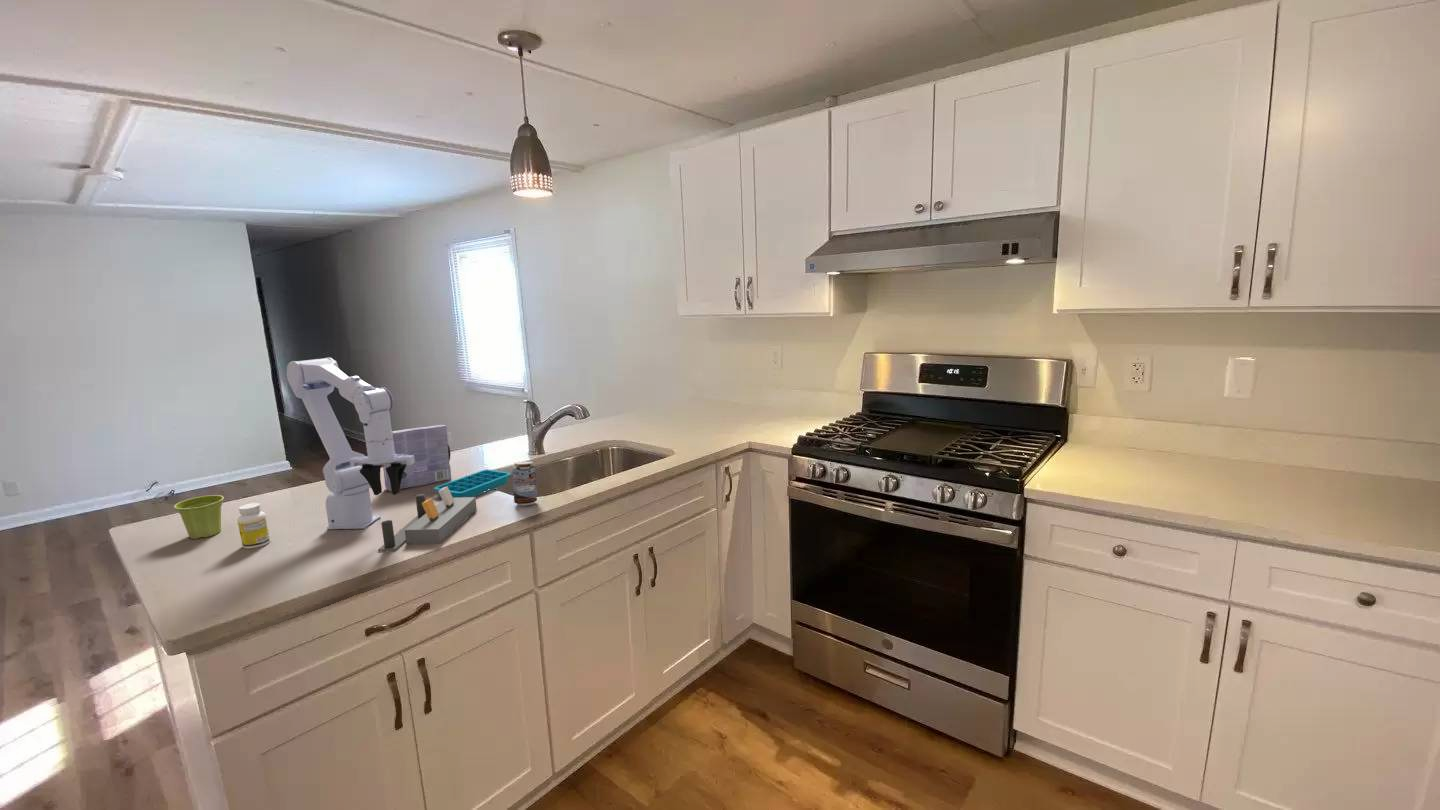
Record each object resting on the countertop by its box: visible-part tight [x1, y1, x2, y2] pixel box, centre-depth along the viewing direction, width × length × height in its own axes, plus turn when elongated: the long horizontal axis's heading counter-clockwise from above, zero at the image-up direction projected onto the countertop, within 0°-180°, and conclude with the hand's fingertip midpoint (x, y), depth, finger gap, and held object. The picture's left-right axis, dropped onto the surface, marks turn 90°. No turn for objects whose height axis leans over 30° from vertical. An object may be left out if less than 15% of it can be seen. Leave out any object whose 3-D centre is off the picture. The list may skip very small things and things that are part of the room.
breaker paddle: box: [422, 497, 439, 521], centre depth 147 cm, size 1×3×5 cm, turn 0°
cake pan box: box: [382, 424, 452, 492], centre depth 185 cm, size 19×5×18 cm, turn 130°
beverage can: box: [512, 461, 538, 506], centre depth 166 cm, size 6×7×12 cm
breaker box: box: [405, 496, 478, 545], centre depth 152 cm, size 8×22×4 cm, turn 0°
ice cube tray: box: [433, 469, 512, 498], centre depth 180 cm, size 12×20×3 cm, turn 154°
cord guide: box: [377, 493, 427, 553], centre depth 148 cm, size 4×21×7 cm, turn 4°
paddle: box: [438, 486, 454, 508], centre depth 156 cm, size 1×3×5 cm, turn 0°
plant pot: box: [173, 494, 225, 540], centre depth 149 cm, size 9×9×9 cm
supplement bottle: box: [236, 502, 271, 550], centre depth 142 cm, size 5×5×10 cm
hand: (387, 493), depth 146 cm, fingers open, 4 cm apart
